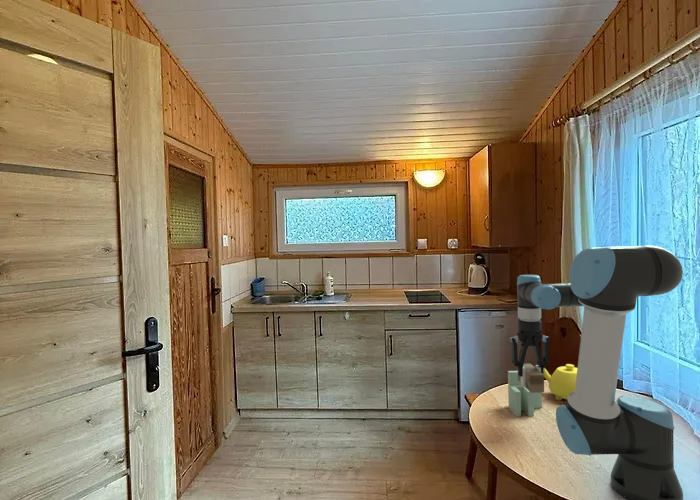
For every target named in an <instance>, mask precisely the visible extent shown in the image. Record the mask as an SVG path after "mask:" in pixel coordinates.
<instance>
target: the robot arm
mask: <svg viewBox="0 0 700 500" xmlns="http://www.w3.org/2000/svg"><path fill="white" fill-rule="evenodd" d="M683 271H684V270H683V267H682V263H681V261H680V260H679V259H678V258H677V256H676V255H675V254H674V253H673V252H671V251H669V250H667V249H666V248H662V247H660V246H655V245H634V246H629V245H628V246H627V245H626V246H605V245H602V246H598V247H588V248H584V249H582V250H581V251H579V252H578V253H577V254H576V255H575V257H574V258H573V260H572V262H571V266H570V269H569V277H568V278H569V279H568V280H569V282H570V283H567V282H566V283H565V282H564V283H542V281H541V277H540V276H539V275H537V274H519V276H517V278H516V279H517V281H516V287H517V288H516V291H517V295H516V296H517V318H518V319H517V330H518V331H517V334H516V335H514V336H510V337H509V341H510V344H511V364H512V365H513V366H514V367H517V371H518V375H519V376H520V377H521V385H522V386H523V387H526V377H525V367H523V365H524V363H525V359H526V357H527V356H526V355H527V352H528V351H527V350H528V348H529V347H532V348H533V352H534V356H535V359H536V363H537V364H536V365H538V366H536V365H534V367H535V368H536V369H537V370H539V371H540V372H541V373H542V374H543V368H545V367H547V366H548V367H549V366H550V342H551V341H552V338H551V337H549V336H547V335H544V334H543V333H542V330H543V329H542V320H541V319H542V310H553V309H555V308H567V307H583V316H582V322H581V323H582V325H581V333H580V342H579V351H578V361H577V368H578V369H577V378H576V387H575V391H573V392H571V393H570V394H569V395H568V398H567V399H566V400H567V401H566V405H564V404H562V405H560V406H558V407H557V408H556V410H555V419H556V426H557V429H558V432H559V435H560V437H561V439H562V442H563V443H564V444H565V446H566V448H567V449H568V450H569V451H571V452H572V453H573V454H575V455H581V456H582V455H583V456H586V455H587V456H588V457H589V456H590V457H591V456H593V455H617V457H616V459H615V462H614V464H613V467H612V469H611V472H610V484H611V487H612V489H613V490H614V491H615V492H616V493H618V494H619V495H620V496H621V497H623V498H624V499H626V500H684V492H683V488H682V486H681V483H680V481H679V478H678V475H677V473H676V471H675V468H674V467H675V461H674V450H675V449H674V446H675V445H674V444H675V443H674V430H675V425H674V417H673V414H672V412H671V410H669V409H668V408H667V407H666V406H664V405H662V404H660V403H658V402H656V401H652V400H650V399H646V398H643V397H639V396H632V395H620V396H618V397H617V399H616V391H617V385H618V379H619V378H618V376H619V371H620V370H619V369H620V362H621V355H622V349H623V342H624V333H625V332H624V331H625V326H626V319H627V314H628V313H630V312H632V311H635V309H636V305H637V299H638V297H652V296H653V297H654V296H659V295H660V296H661V295H664V294H668V293H670V292H672V291H674V289H676V288H677V287H678V286H679V285H680V283H681V282H682V278H683V274H684V272H683ZM519 341H520V342H521V343H520V348H519V353H518V342H519ZM541 341H542V353H541V350H540V347H541V346H540V342H541ZM545 369H546V368H545ZM615 400H616V401H615Z"/></svg>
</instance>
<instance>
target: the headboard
mask: <svg viewBox="0 0 700 500" xmlns="http://www.w3.org/2000/svg"><path fill="white" fill-rule="evenodd" d="M535 366H538V364H536V365H535ZM545 369H546V368H543V372H545ZM507 385H508V386H507V389H508V393H507V394H508V395H507V396H508V407H509V409H510V411H511V412H512V413H513V414H514V416H515V417H521V416H522V411H524V412H525V414H526V415H527V416H528V417H534V416H535V412H534V411H535V410H534V409H542V408H543V399H542V398H543V395H542V393H543V392H541V393H530V392H529V391H528V390H527V389H526V387H523V386H522V385H521V382H520V381H519V380H518V370H507Z"/></svg>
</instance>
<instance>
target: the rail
mask: <svg viewBox="0 0 700 500" xmlns="http://www.w3.org/2000/svg"><path fill="white" fill-rule="evenodd" d="M523 367H525V377H526V389H527V390H528V391H529V392H530V393H541V392H542V393H545V377H544V375H543V374H542V373H541V372H540V371H539V370H537V369H536V368H535V365H533V364H531V363H529V362H528V363H525V362H524V365H523ZM518 380H519V381H520V382H521V377H520V376H519V375H518Z"/></svg>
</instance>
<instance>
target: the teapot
mask: <svg viewBox="0 0 700 500" xmlns="http://www.w3.org/2000/svg"><path fill="white" fill-rule="evenodd" d="M577 369H578V367H575V364H572V363H566V364H565V366H563V365H562V366H559V367H557V368H556V369H555V370H554V372H553V373H551V374H550V373H549V371H548V370H547V369H546V368H545V372H543V375H544V380H546V381H547V382H548V388H549V390H550V391H551V394H553V395H554V396H555V397H554V399H555V400H556V401H563V400H567V398H568V395H569V394H570V393H571V392H573V391H575V387H576V378H577Z"/></svg>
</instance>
